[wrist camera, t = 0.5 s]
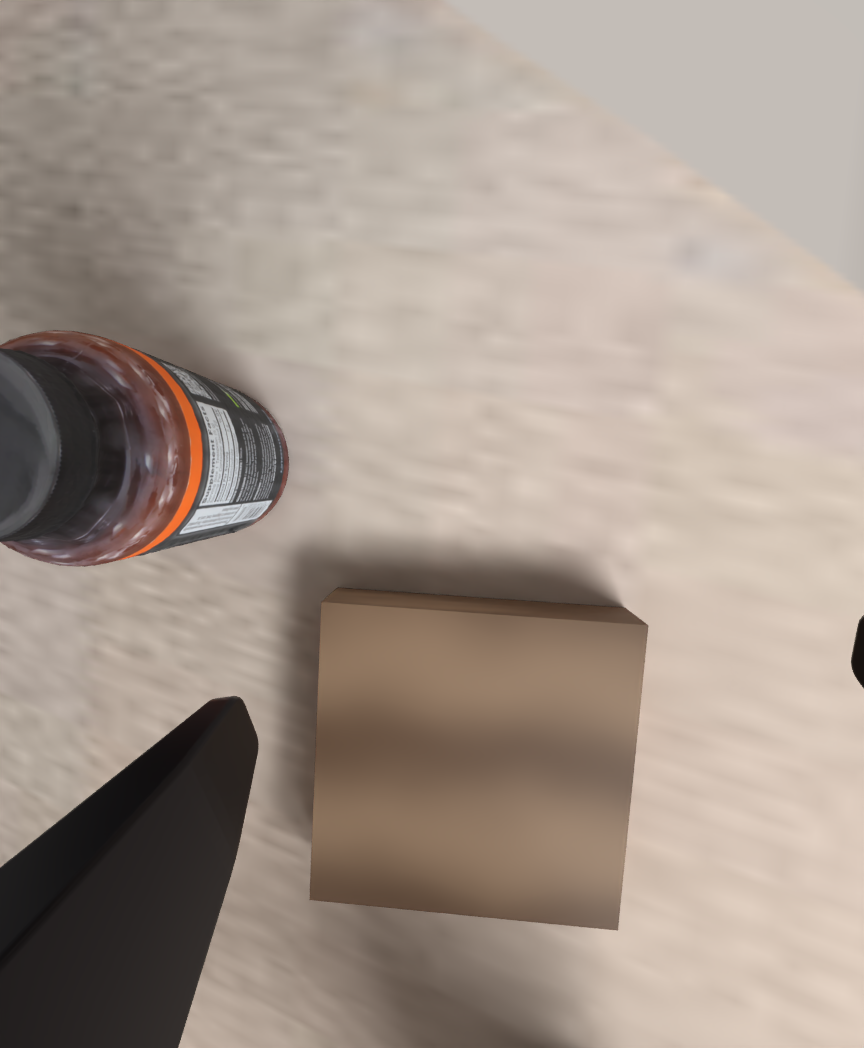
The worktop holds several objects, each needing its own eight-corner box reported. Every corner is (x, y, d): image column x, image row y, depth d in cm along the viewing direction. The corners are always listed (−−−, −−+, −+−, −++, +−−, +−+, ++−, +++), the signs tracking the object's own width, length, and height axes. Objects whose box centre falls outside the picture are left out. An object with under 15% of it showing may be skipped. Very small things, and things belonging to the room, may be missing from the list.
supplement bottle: (143, 513, 21) (-216, 550, 10) (170, 374, 21) (-179, 245, 9) (277, 548, 21) (68, 627, 10) (309, 409, 20) (124, 322, 9)
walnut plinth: (599, 878, 21) (617, 930, 19) (326, 852, 22) (309, 899, 20) (625, 607, 20) (648, 625, 18) (337, 587, 21) (321, 601, 18)
